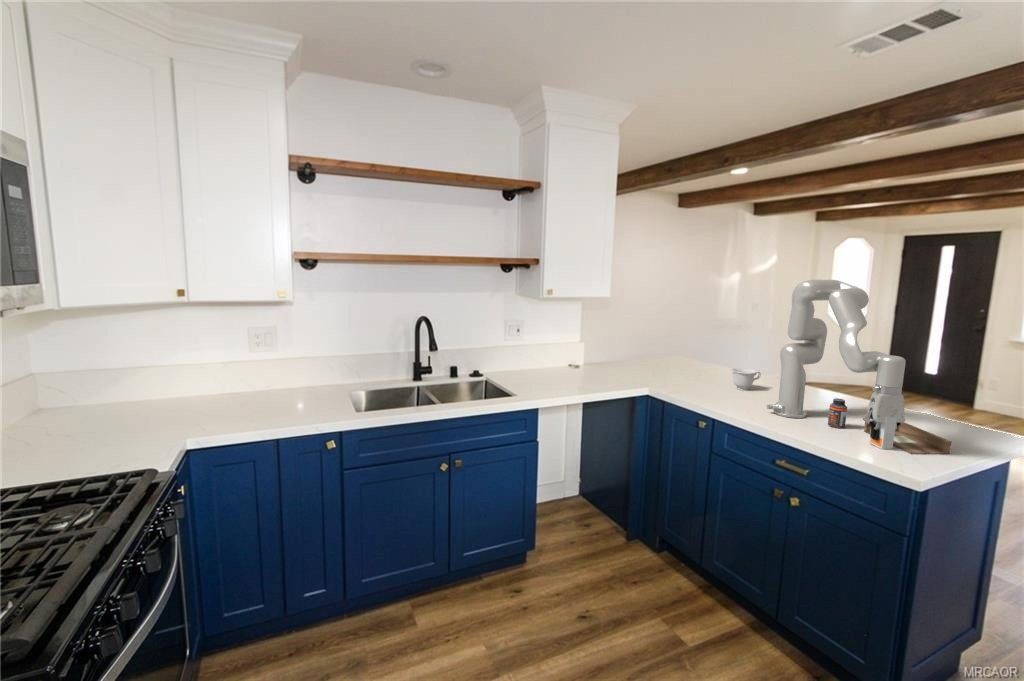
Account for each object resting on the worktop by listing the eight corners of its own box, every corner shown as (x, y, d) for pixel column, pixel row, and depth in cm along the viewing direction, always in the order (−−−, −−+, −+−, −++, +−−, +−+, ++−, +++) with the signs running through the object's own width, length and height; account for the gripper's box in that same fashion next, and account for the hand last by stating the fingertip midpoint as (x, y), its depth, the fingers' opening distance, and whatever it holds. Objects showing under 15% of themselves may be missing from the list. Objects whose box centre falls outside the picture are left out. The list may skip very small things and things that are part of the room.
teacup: (765, 392, 249) (766, 373, 247) (736, 391, 249) (737, 373, 248) (753, 386, 261) (755, 368, 259) (726, 386, 261) (727, 368, 259)
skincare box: (868, 443, 177) (872, 411, 175) (878, 442, 178) (883, 411, 176) (882, 449, 171) (886, 417, 169) (893, 449, 172) (897, 416, 170)
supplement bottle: (824, 425, 197) (826, 398, 196) (833, 423, 200) (836, 396, 198) (838, 429, 192) (842, 402, 190) (848, 427, 194) (851, 400, 193)
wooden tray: (910, 454, 167) (912, 441, 166) (863, 431, 190) (865, 420, 189) (949, 454, 167) (951, 441, 166) (898, 431, 190) (899, 420, 189)
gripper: (871, 392, 167) (865, 442, 170) (920, 393, 167) (913, 443, 170) (856, 387, 175) (850, 435, 178) (903, 387, 175) (897, 435, 177)
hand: (881, 438), depth 174 cm, fingers closed on skincare box, 4 cm apart
